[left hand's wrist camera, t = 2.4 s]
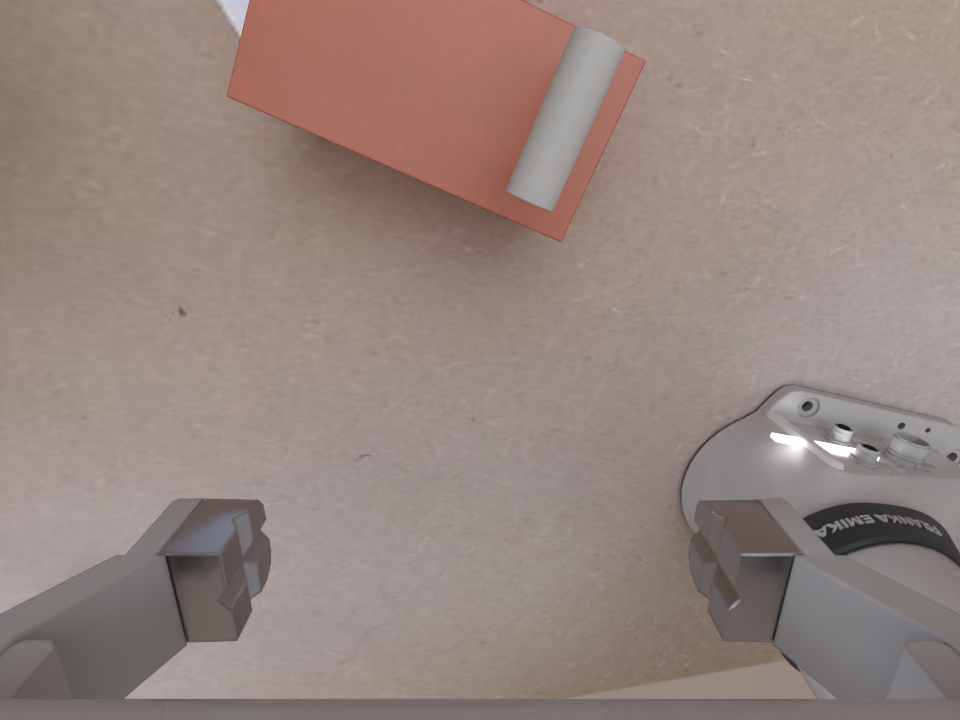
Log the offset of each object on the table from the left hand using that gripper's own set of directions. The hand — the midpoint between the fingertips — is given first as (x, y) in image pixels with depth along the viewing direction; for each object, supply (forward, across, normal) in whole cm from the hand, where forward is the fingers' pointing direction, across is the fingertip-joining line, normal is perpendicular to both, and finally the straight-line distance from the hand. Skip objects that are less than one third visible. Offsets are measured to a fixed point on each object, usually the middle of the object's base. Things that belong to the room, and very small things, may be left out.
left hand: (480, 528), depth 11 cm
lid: (+22, -2, +10) cm, 25 cm away
